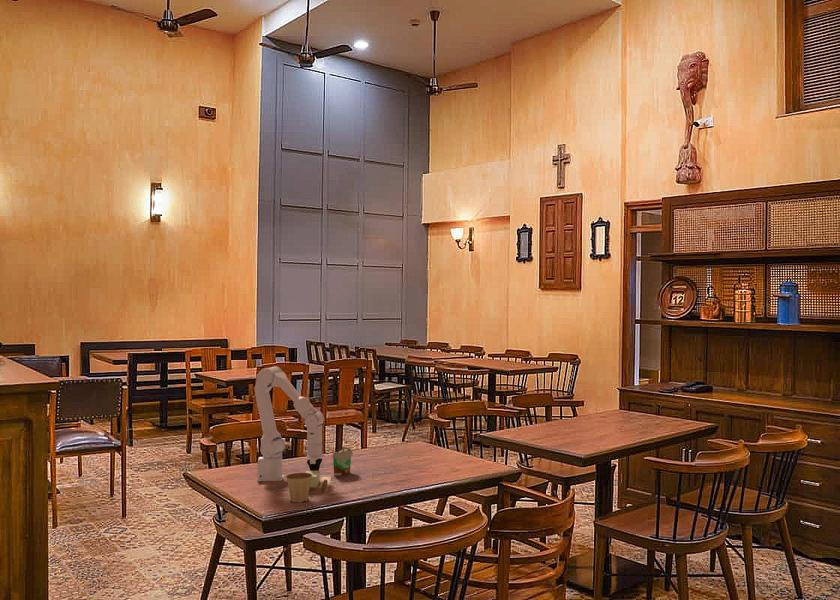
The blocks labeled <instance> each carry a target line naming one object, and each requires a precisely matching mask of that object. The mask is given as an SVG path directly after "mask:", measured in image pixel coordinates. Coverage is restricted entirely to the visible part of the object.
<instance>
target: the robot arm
mask: <svg viewBox="0 0 840 600" xmlns="http://www.w3.org/2000/svg"><path fill="white" fill-rule="evenodd" d="M255 377H256V381H255V386H254V395H255V400H256V405H257V410H258V415H259V420H260V424H261V430H262V436H261V438H260V443H261V444H260V448H259V450H260V453H261V455H262V456H259V457H258V459H257V480H256V481H257V482H273V481H275V482H276V481H277V482H278V481H279V482H280V481H283V479H284V477H286V475H285V474H283V451H284V450H285V448H286V443H285V440H284V439H283V438H282V434H281V433H280V432H279V430H278V429H277V424H276V419H275V415H274V409H273V405H272V399H271V394H270V391H271V390H272V388H273V387H275V388H276V387H278V388H281V390H282V391H283V392H284V393H285V394H286V395H287V396H288V397H289V399H290V400H291V401H292V402H293V407H294V409H295V410H296V411H297V412H298V414H299V415H300V416H301V418H303V419H304V420H303V421H304V422H303V423H304V426H305V427H306V434H307V435H306V439H307V440H306V448H307V449H306V451H307V452H306V453H307V454H306V458H307V460H306V463H307V465H308V468H309V471H320V467H321V464H322V462H323V458H324V457H326V453H323V423H324V422H325V416H324V413H323V412H322V411H320V410H318V409H317V408H316V407H314V406H313V404H312V403H311V402H310V398H308V397H305V396H301V395H300V393H299V392H298V390H297V389H296V388H295V387H294V385H293V384H292V383H291V381H290V380H289V379H288V376H287V374H286V373H285V372H284V371H283V370H282V369H281V367H279V366H276V365H275V366H272V367H266V368H265V367H264V368H262V369H261V370H259V371H258V373H257V374H256V376H255Z"/></svg>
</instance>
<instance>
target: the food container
mask: <svg viewBox="0 0 840 600" xmlns="http://www.w3.org/2000/svg"><path fill="white" fill-rule="evenodd" d="M353 455H354V454H353V450H352V448H351V447H346V446H341V449H340V450H337V451H336V452H332V459H333V460H332V462H333V463H332V464H333V477H346V476H348V475H350V474H351V465H352V463H351V462H352V456H353Z"/></svg>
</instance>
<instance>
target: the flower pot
mask: <svg viewBox="0 0 840 600" xmlns="http://www.w3.org/2000/svg"><path fill="white" fill-rule="evenodd" d="M312 476H313V475H312V474H310V473H306V472H294V473H293V472H292V473H289V474H287V475H285V479H286V482H287V484H288V485H287V486H288V491H289V499H290V501H291V502H293V503H304V502H307V501H308V500H309V498H310V497H309V496H310V493H309V488H310V481H311V477H312Z"/></svg>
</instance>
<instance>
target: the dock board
mask: <svg viewBox="0 0 840 600" xmlns="http://www.w3.org/2000/svg"><path fill="white" fill-rule="evenodd" d="M331 480H332V476H320V486H318V487H316V488H309V494H311V493H312V494H313V493H315V494H316V493H323V494H324V493H328V489H329V487H330V484H331Z"/></svg>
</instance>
